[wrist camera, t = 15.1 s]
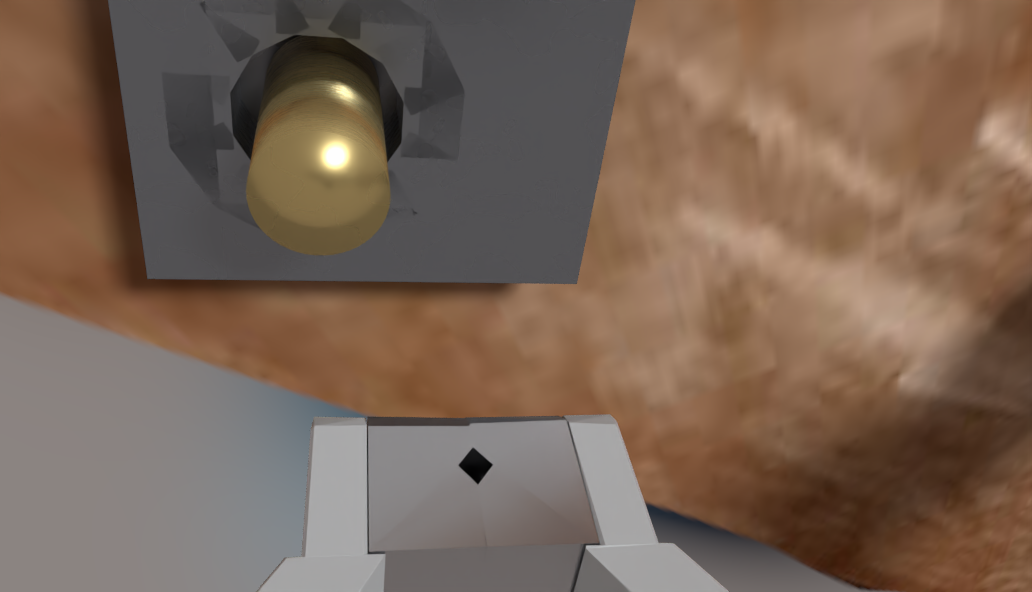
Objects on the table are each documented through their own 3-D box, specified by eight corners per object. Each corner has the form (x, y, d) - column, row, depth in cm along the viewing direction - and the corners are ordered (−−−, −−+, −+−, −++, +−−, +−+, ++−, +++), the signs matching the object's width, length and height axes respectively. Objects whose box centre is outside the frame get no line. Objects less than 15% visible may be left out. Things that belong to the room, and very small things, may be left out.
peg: (385, 41, 30) (398, 139, 23) (373, 144, 32) (382, 260, 26) (267, 25, 29) (247, 123, 22) (263, 133, 31) (244, 250, 25)
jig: (614, -88, 30) (647, -59, 26) (556, 231, 37) (576, 283, 34) (121, -141, 26) (91, -116, 23) (165, 221, 34) (147, 278, 30)
